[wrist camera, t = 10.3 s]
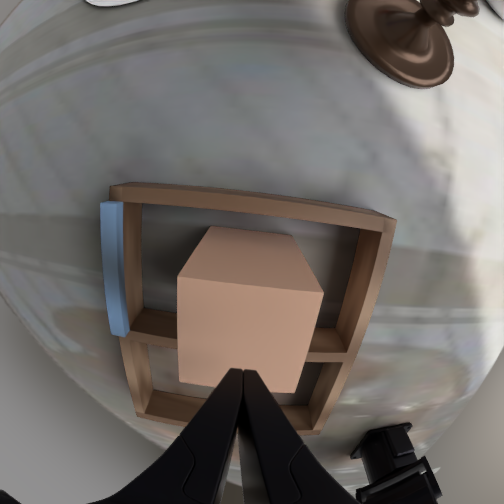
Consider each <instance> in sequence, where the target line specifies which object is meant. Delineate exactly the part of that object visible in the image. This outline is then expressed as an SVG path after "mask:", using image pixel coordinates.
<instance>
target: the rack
mask: <svg viewBox="0 0 504 504" xmlns="http://www.w3.org/2000/svg"><path fill="white" fill-rule="evenodd" d="M142 203H148V204H161V205H173V206H184V207H195V208H206V209H216V210H225V211H234V212H243V213H252V214H261V215H269V216H277V217H285V218H292V219H300V220H307V221H314V222H321V223H328V224H335V225H342V226H348V227H355V228H361V229H360V234H359V239H358V243H357V248H356V252H355V257H354V261H353V265H352V269H351V273H350V277H349V281H348V285H347V289H346V293H345V296H344V300H343V304H342V307H341V311H340V314H339V317H338V321H337V324H336V327H335V328H318V327H315V328H314V332H313V336H312V339H311V342H310V346H309V349H308V353H307V356H306V359H305V362H324V364H323V367H322V369H321V372H320V375H319V378H318V380H317V383H316V386H315V388H314V391H313V393H312V396H311V399H310V401H309V404H308V405H279V406H280V408H281V409H282V411H283V412H284V414H285V415H286V417H287V418H288V420H289V421H290V423H291V424H292V426H293V427H294V429H295V430H296V431H297V433H298V434H299V435H319V434H320V432H321V430H322V428H323V426H324V425H325V423H326V421H327V419H328V417H329V415H330V413H331V411H332V409H333V407H334V405H335V403H336V401H337V399H338V397H339V395H340V392H341V390H342V388H343V386H344V384H345V381H346V379H347V377H348V375H349V372H350V370H351V368H352V365H353V363H354V360H355V358H356V356H357V353H358V350H359V348H360V345H361V343H362V340H363V337H364V335H365V332H366V329H367V326H368V324H369V321H370V318H371V315H372V312H373V309H374V306H375V303H376V300H377V296H378V293H379V290H380V287H381V283H382V280H383V276H384V273H385V269H386V265H387V261H388V258H389V254H390V249H391V245H392V241H393V237H394V232H395V228H396V223H397V220H396V219H393V218H391V217H389V216H386V215H384V214H381V213H379V212H377V211H373V210H368V209H363V208H357V207H352V206H346V205H340V204H334V203H328V202H322V201H316V200H309V199H303V198H296V197H289V196H282V195H274V194H266V193H258V192H250V191H241V190H231V189H222V188H211V187H200V186H188V185H174V184H158V183H139V182H130V183H124V184H119V185H114V186H110V192H109V201H106V202H102V203H101V204H100V221H101V251H102V266H103V278H104V287H105V296H106V304H107V311H108V318H109V324H110V330H111V334H113V335H117V336H119V340H120V346H121V352H122V357H123V362H124V367H125V371H126V376H127V380H128V384H129V388H130V392H131V396H132V400H133V404H134V408H135V411H136V415H137V417H141V418H145V419H149V420H153V421H157V422H162V423H167V424H172V425H177V426H183V427H186V426H187V424H188V423H189V422H190V420H191V419H192V418H193V417H194V415H195V414H196V413H197V411H198V410H199V409H200V408H201V406H202V405H203V404H204V402H205V401H206V400H207V399H202V398H195V397H189V396H183V395H177V394H172V393H166V392H161V391H157V390H153V385H152V379H151V372H150V365H149V357H148V349H147V344H151V345H156V346H161V347H167V348H173V349H178V338H177V313H172V312H165V311H159V310H153V309H147V308H144V307H143V290H142V263H141V221H142ZM237 434H238V428H237Z"/></svg>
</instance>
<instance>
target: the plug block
mask: <svg viewBox="0 0 504 504" xmlns="http://www.w3.org/2000/svg"><path fill="white" fill-rule="evenodd" d="M323 294H324V292H323V290H322V288H321V287H320V285H319V283H318V281H317V279H316V277H315V276H314V274H313V272H312V270H311V268H310V267H309V265H308V263H307V261H306V259H305V258H304V256H303V254H302V252H301V251H300V249H299V247H298V245H297V244H296V242H295V240H294V238H293V237H292V235H284V234H276V233H268V232H260V231H252V230H243V229H235V228H226V227H217V226H210V228H209V229H208V231H207V232H206V234H205V235H204V237H203V238H202V240H201V241H200V243H199V244H198V246H197V247H196V249H195V250H194V252H193V253H192V255H191V256H190V258H189V259H188V261H187V262H186V264H185V265H184V267H183V268H182V270H181V272H180V273H179V275H178V276H177V338H178V366H179V382H184V383H190V384H197V385H204V386H211V387H216V386H217V385H218V384H219V382H220V381H221V379H222V378H223V377H224V375H225V374H226V373H227V371H228V370H229V369H230V368H240V369H242V370H244V369H251V370H256V371H257V372H258V373H259V375H260V377H261V378H262V380H263V381H264V383H265V385H266V386H267V388H268V389H269V391H270V392H281V393H295V390H296V387H297V384H298V381H299V378H300V375H301V372H302V369H303V366H304V362H305V359H306V356H307V353H308V349H309V346H310V342H311V339H312V336H313V332H314V328H315V325H316V321H317V317H318V314H319V310H320V306H321V302H322V298H323Z"/></svg>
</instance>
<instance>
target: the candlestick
mask: <svg viewBox="0 0 504 504" xmlns="http://www.w3.org/2000/svg"><path fill="white" fill-rule="evenodd" d="M456 13H457V14H458V15H461V16H466V17H475V16H477V15H478V14H479V6H478V3H477V0H420V3H419V2H418V1H416V0H349V1H348V3H347V5H346V8H345V23H346V26H347V29H348V32H349V34H350V36H351V38H352V40H353V42H354V43H355V45H356V46H357V47H358V49H359V50H360V52H361V53H362V54H363V55H364V56H365V57H366V58H367V59H368V61H369V62H370V63H372V64H373V65H374V66H375V67H376V68H377V69H378V70H380V71H381V72H382V73H384V74H385V75H387V76H388V77H389V78H391V79H393V80H395V81H397V82H399V83H400V84H403V85H406V86H409V87H412V88H418V89H428V88H431V87H434V86H437V85H440V84H443V83H444V82H445V81H447V80H448V79H449V77H450V76H451V74H452V71H453V67H454V55H453V49H452V46H451V43H450V40H449V38H448V36H447V34H446V32H445V31H444V29H443V27H442V26H445V27H449V26H450V25H452V24H453V23H454V17H453V15H455V14H456ZM441 25H442V26H441Z"/></svg>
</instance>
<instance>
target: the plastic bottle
mask: <svg viewBox="0 0 504 504" xmlns="http://www.w3.org/2000/svg"><path fill="white" fill-rule="evenodd" d="M487 2H488V3H489V5H490V6H491V7H492V8H493V10H494V11H495V12H496V13H497V14H498V15H499V16H500V17H501V18H502V19H503V20H504V0H487Z"/></svg>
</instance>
